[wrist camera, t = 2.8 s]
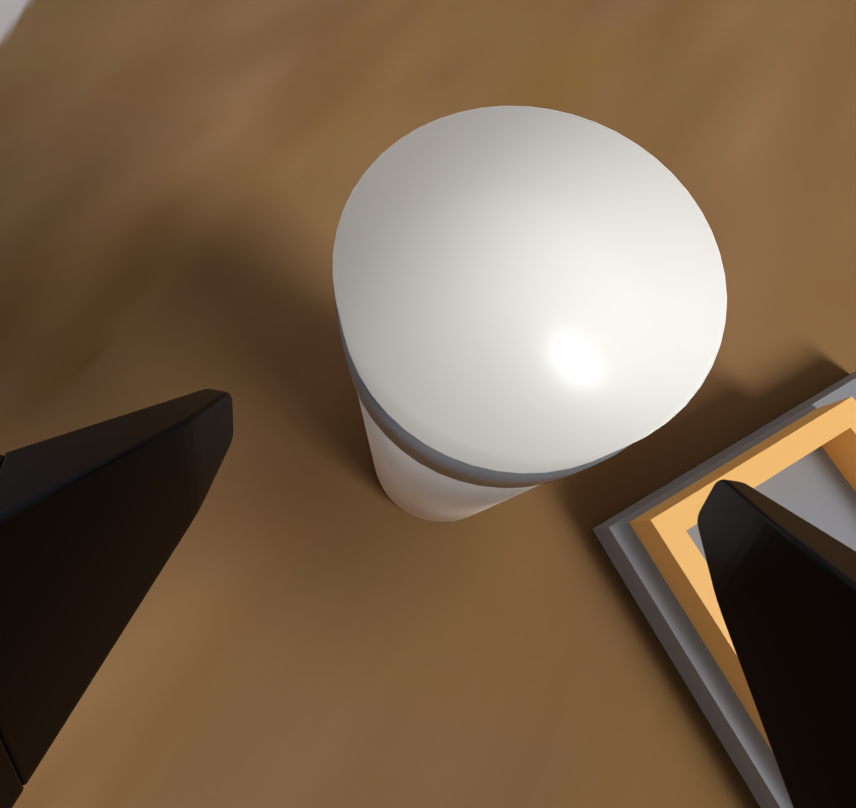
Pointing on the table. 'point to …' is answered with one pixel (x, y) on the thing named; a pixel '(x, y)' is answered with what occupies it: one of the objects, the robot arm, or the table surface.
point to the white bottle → (519, 304)
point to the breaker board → (688, 571)
